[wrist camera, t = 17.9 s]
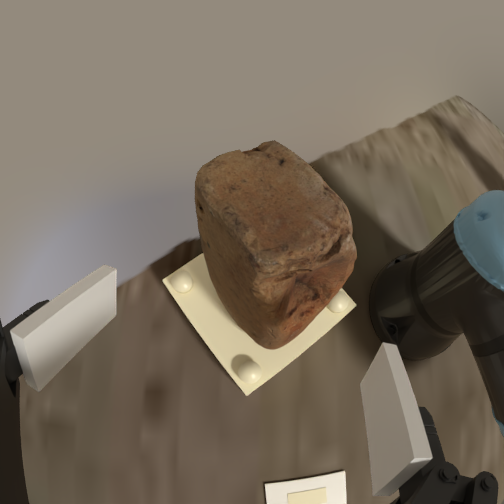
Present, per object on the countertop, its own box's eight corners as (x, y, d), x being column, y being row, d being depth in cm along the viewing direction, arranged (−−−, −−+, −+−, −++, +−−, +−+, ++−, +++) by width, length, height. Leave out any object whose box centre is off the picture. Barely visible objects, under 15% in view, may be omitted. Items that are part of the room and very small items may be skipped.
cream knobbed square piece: (267, 228, 43) (270, 204, 38) (343, 315, 38) (359, 302, 33) (171, 293, 39) (159, 277, 33) (245, 394, 34) (246, 396, 28)
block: (206, 282, 34) (172, 162, 16) (261, 249, 36) (280, 116, 18) (260, 363, 31) (289, 329, 13) (317, 324, 33) (402, 244, 15)
